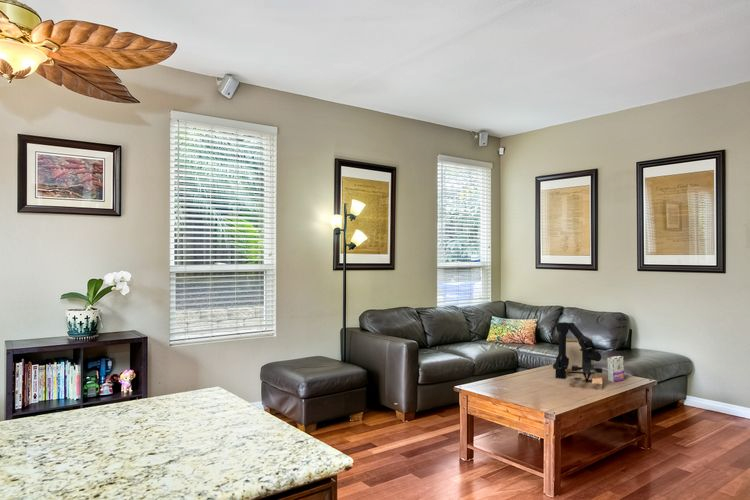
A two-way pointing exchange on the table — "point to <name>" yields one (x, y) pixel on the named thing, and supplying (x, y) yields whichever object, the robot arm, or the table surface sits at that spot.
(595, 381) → the block
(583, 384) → the chute
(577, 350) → the photo frame
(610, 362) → the candy bar box
